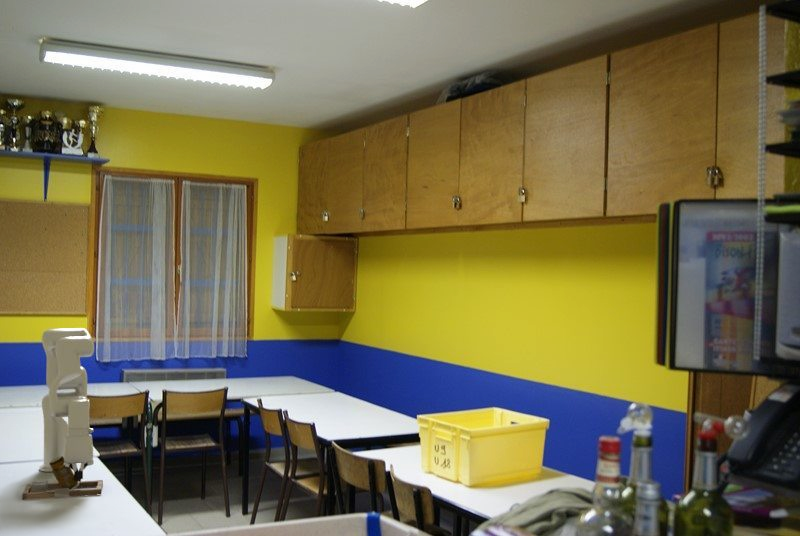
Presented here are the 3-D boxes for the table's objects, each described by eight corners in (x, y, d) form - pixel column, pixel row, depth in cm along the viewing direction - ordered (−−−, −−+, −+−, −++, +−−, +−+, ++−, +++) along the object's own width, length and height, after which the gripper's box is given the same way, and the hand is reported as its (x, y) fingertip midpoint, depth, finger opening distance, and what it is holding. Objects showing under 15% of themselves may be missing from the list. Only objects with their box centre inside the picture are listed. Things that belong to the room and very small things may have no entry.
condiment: (80, 479, 319) (65, 452, 317) (79, 485, 311) (63, 457, 309) (61, 489, 317) (46, 462, 315) (60, 495, 309) (44, 468, 307)
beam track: (27, 489, 317) (27, 478, 317) (102, 484, 325) (103, 474, 325) (21, 500, 302) (21, 489, 302) (100, 495, 310) (101, 484, 310)
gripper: (100, 429, 320) (100, 477, 319) (58, 431, 315) (58, 480, 315) (99, 432, 313) (99, 481, 312) (56, 435, 308) (56, 485, 308)
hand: (78, 481), depth 314 cm, fingers closed
